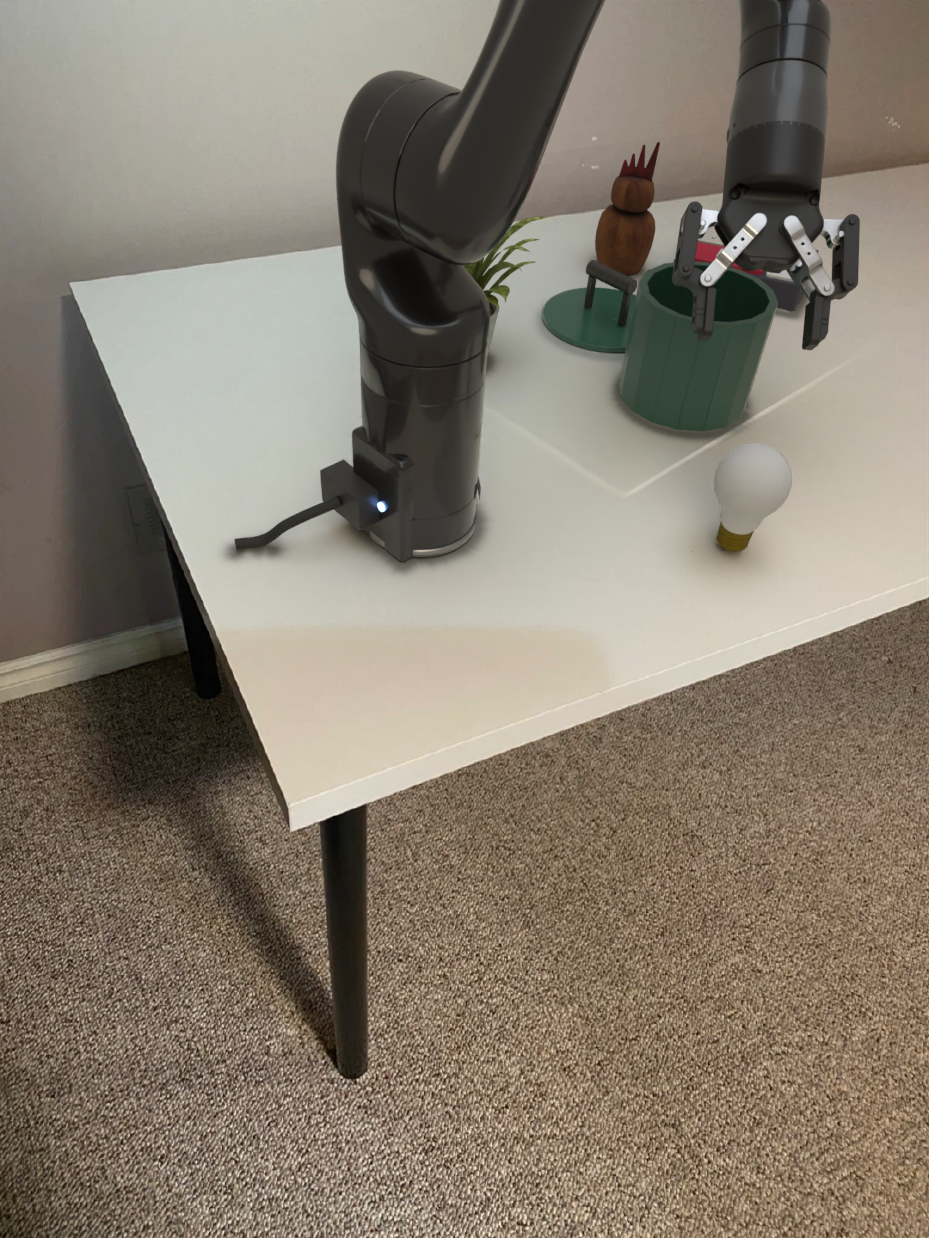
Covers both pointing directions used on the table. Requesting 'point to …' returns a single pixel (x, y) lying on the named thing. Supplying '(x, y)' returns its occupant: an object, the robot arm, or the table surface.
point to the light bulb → (749, 491)
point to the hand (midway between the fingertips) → (757, 343)
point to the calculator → (753, 272)
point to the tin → (695, 350)
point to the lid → (594, 311)
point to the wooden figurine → (628, 217)
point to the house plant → (480, 267)
